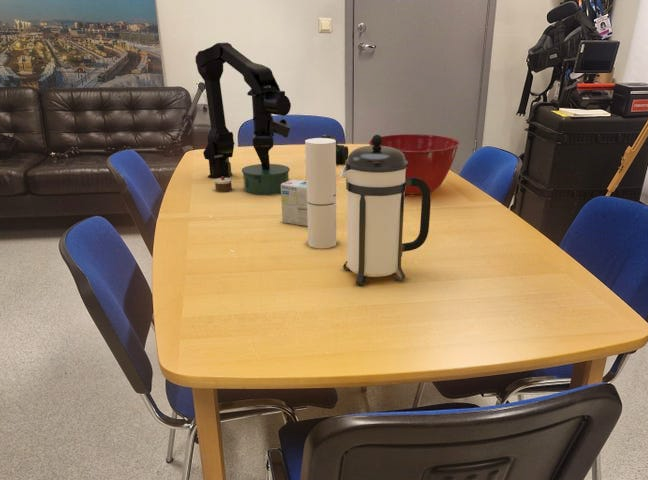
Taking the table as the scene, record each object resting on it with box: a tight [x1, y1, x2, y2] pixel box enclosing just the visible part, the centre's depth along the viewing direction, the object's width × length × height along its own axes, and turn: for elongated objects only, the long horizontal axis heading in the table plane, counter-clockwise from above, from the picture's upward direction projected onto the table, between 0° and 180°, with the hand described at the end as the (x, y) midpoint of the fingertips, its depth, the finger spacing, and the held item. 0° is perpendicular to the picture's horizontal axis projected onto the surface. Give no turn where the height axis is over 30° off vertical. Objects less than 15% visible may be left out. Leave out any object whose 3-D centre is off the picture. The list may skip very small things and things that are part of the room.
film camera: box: [320, 134, 350, 165], centre depth 237 cm, size 18×12×10 cm
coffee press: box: [339, 134, 432, 287], centre depth 134 cm, size 17×16×30 cm
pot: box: [242, 172, 290, 196], centre depth 204 cm, size 14×20×6 cm
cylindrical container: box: [304, 137, 337, 249], centre depth 152 cm, size 7×7×25 cm
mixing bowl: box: [368, 133, 460, 197], centre depth 201 cm, size 28×28×15 cm
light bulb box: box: [280, 178, 308, 227], centre depth 172 cm, size 11×7×11 cm, turn 65°
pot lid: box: [241, 153, 291, 176], centre depth 201 cm, size 15×15×6 cm
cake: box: [213, 176, 233, 193], centre depth 203 cm, size 5×5×4 cm
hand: (265, 163), depth 201 cm, fingers open, 9 cm apart
